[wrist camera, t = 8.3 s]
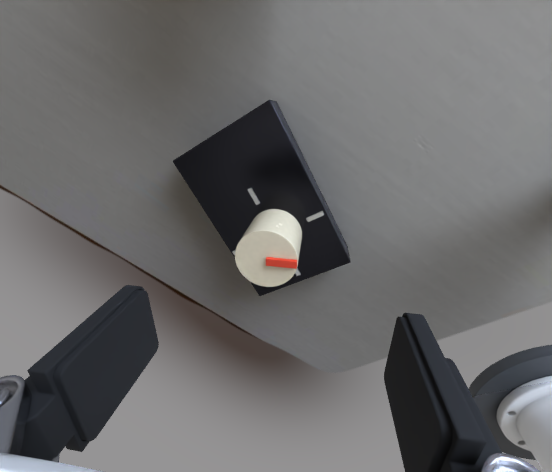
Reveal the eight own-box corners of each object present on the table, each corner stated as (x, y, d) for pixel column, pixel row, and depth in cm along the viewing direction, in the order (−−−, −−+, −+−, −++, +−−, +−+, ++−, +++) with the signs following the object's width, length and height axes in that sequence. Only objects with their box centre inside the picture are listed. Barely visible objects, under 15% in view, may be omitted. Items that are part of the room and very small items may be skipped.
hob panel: (347, 246, 26) (351, 263, 23) (265, 279, 29) (259, 297, 26) (276, 100, 22) (269, 99, 19) (188, 155, 24) (171, 161, 22)
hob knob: (250, 254, 24) (234, 286, 20) (249, 206, 22) (232, 229, 18) (300, 259, 24) (295, 292, 19) (304, 210, 22) (299, 235, 17)
